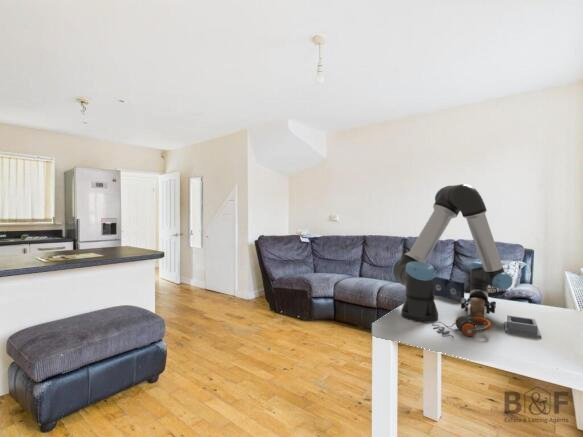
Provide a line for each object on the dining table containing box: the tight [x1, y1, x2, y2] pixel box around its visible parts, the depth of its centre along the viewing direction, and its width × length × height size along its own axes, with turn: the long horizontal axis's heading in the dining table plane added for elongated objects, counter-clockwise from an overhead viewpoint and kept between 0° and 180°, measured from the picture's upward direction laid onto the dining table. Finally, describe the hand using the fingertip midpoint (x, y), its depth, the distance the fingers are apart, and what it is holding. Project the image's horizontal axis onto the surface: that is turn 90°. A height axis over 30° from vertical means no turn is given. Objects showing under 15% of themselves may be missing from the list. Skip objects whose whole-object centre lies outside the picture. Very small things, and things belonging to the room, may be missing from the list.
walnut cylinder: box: [469, 298, 485, 327], centre depth 134 cm, size 5×5×10 cm
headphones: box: [431, 316, 492, 339], centre depth 124 cm, size 17×5×20 cm
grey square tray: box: [503, 315, 542, 339], centre depth 126 cm, size 11×11×4 cm
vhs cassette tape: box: [434, 275, 465, 303], centre depth 173 cm, size 18×3×10 cm, turn 27°
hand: (477, 312), depth 129 cm, fingers closed on walnut cylinder, 5 cm apart
